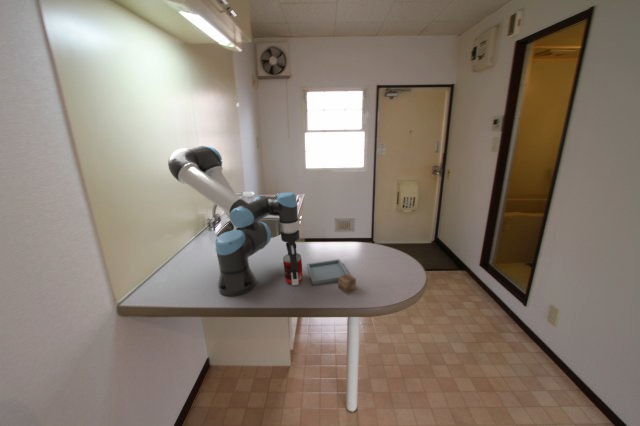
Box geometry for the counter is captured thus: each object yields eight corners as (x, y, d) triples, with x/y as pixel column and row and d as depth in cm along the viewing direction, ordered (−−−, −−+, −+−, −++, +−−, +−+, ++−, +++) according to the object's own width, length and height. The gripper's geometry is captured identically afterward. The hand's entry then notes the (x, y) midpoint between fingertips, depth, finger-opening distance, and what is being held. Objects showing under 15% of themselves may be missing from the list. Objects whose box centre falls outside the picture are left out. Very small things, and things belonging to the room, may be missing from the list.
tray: (312, 285, 114) (312, 281, 114) (306, 267, 129) (306, 263, 129) (349, 279, 117) (349, 275, 117) (339, 262, 132) (339, 259, 132)
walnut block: (346, 294, 108) (345, 282, 106) (338, 288, 112) (338, 277, 110) (355, 289, 110) (355, 278, 109) (348, 284, 114) (348, 273, 113)
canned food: (304, 275, 123) (302, 252, 120) (301, 284, 115) (299, 261, 112) (287, 275, 124) (285, 252, 121) (283, 284, 116) (281, 261, 113)
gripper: (302, 238, 104) (306, 291, 111) (295, 221, 123) (299, 266, 130) (282, 241, 102) (287, 294, 109) (278, 223, 122) (283, 269, 129)
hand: (294, 279), depth 120 cm, fingers closed on canned food, 8 cm apart
